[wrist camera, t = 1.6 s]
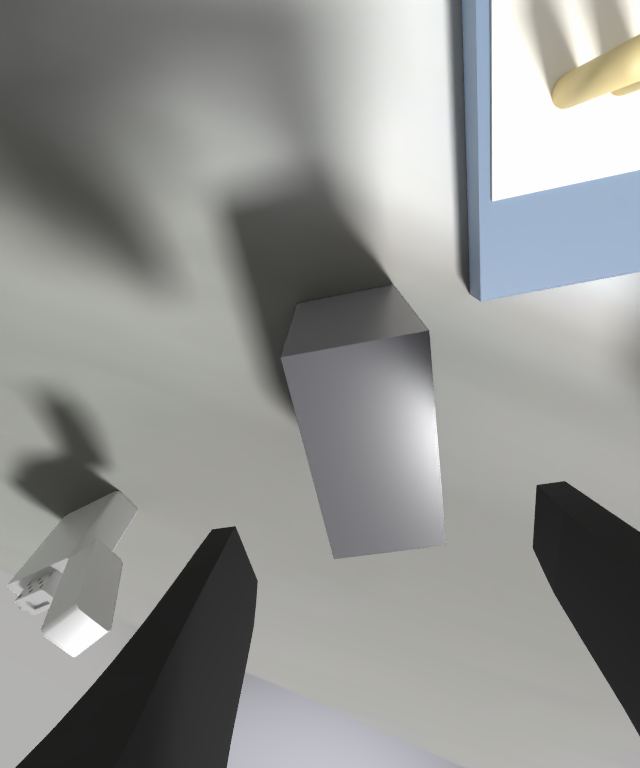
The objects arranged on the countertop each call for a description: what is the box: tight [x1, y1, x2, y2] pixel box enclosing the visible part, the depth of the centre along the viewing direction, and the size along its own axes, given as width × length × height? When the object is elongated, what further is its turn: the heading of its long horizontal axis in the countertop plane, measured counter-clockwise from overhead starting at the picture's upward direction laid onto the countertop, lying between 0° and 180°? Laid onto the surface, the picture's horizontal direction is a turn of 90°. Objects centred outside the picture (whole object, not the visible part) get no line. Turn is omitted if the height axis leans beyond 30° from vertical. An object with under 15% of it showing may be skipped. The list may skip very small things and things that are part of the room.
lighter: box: [8, 491, 138, 657], centre depth 17 cm, size 7×2×8 cm, turn 119°
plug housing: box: [281, 284, 446, 559], centre depth 14 cm, size 4×8×6 cm, turn 11°
